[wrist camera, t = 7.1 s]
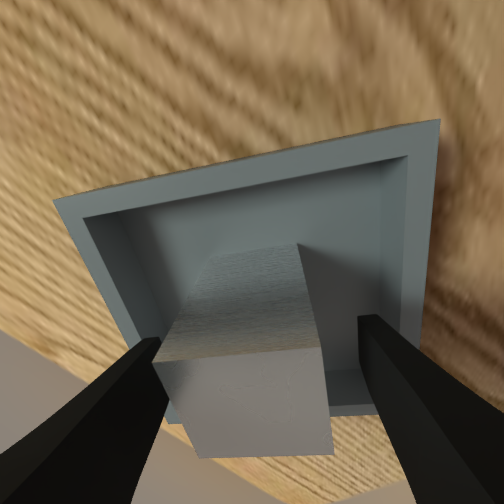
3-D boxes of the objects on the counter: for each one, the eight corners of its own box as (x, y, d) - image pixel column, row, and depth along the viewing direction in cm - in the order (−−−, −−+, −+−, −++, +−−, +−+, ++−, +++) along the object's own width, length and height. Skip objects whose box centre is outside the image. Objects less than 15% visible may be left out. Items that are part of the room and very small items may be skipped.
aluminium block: (307, 315, 12) (334, 454, 7) (230, 324, 13) (198, 458, 7) (296, 242, 11) (321, 347, 5) (210, 256, 11) (151, 362, 6)
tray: (390, 368, 14) (413, 412, 12) (183, 383, 16) (168, 424, 14) (398, 124, 9) (440, 118, 7) (97, 188, 11) (52, 200, 9)
